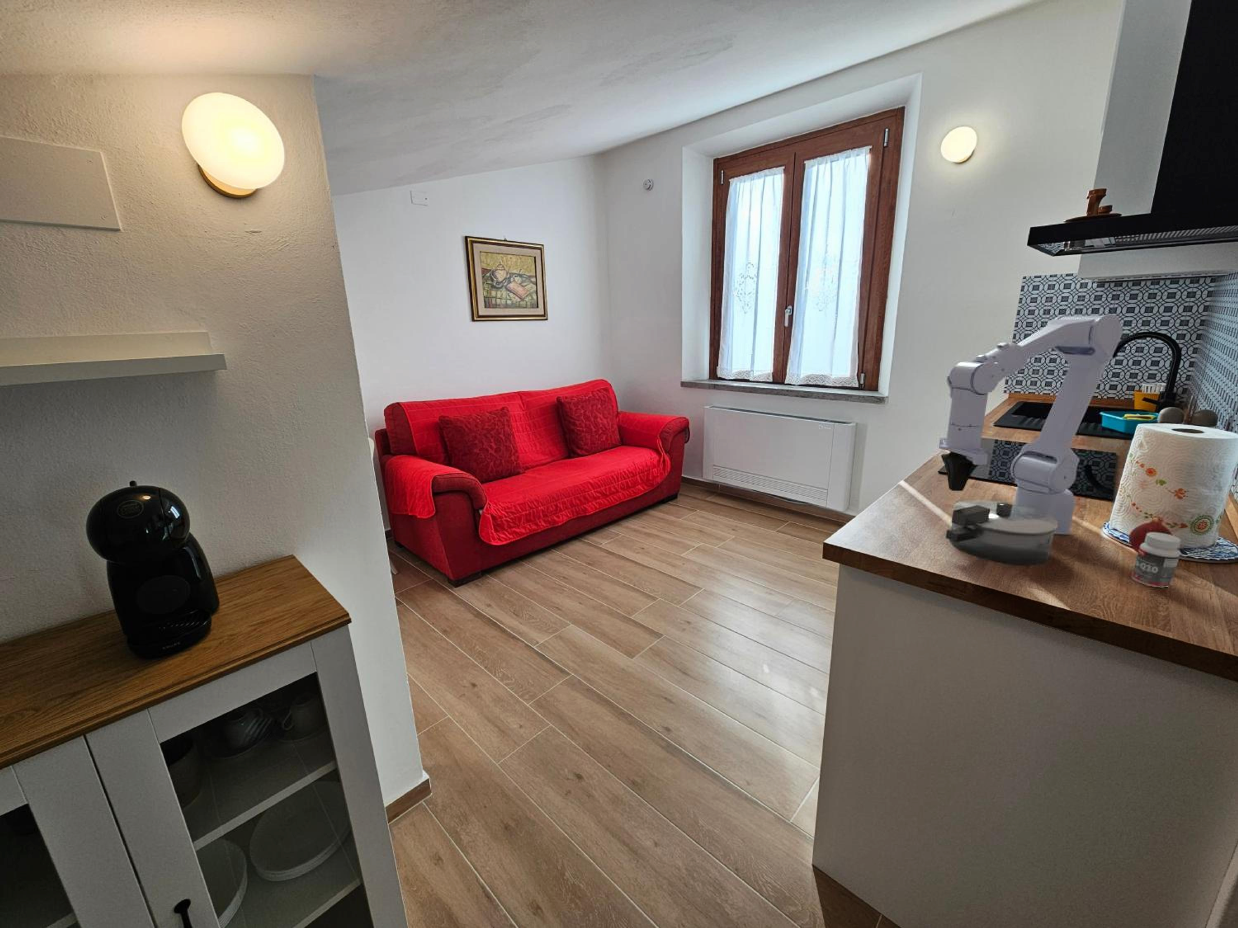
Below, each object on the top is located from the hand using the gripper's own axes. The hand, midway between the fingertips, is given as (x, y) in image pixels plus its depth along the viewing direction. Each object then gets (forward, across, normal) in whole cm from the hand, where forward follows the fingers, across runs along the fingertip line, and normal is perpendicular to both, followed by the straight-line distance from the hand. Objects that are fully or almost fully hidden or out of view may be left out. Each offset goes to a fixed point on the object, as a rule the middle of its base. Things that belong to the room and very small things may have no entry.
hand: (955, 489), depth 106 cm
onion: (+11, +8, +31) cm, 33 cm away
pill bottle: (+11, +18, +24) cm, 32 cm away
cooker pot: (+10, +6, +5) cm, 13 cm away
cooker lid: (+4, +6, +5) cm, 9 cm away
